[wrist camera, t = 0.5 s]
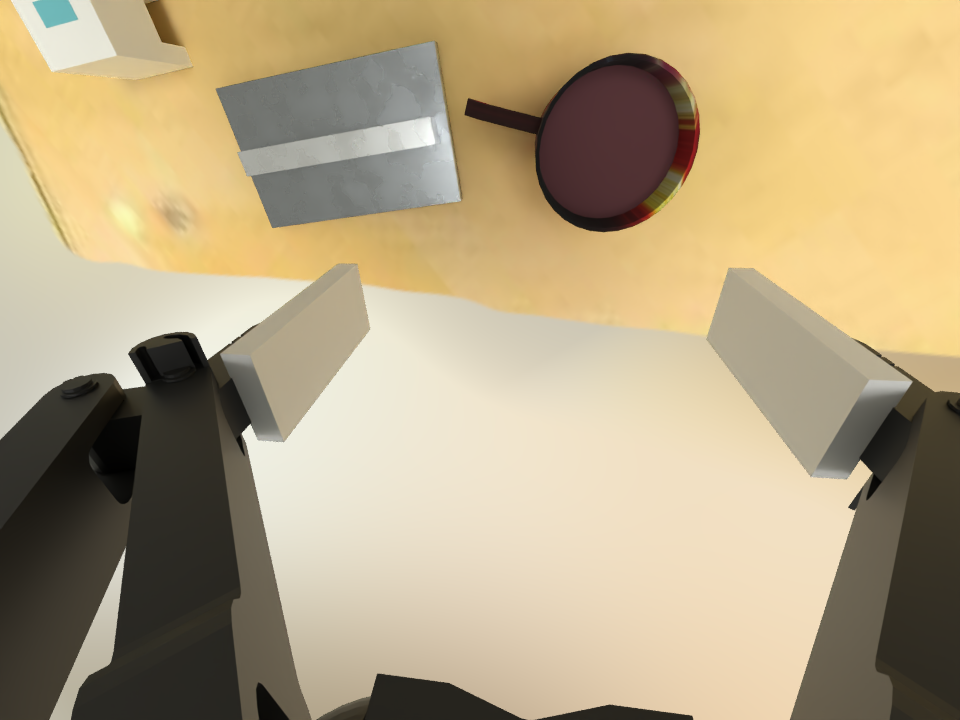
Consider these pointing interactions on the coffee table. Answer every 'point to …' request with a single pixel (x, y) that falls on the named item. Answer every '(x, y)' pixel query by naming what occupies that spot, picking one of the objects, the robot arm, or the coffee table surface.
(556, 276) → the coffee table surface
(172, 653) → the robot arm
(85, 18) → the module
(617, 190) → the mug
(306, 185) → the rail plate
